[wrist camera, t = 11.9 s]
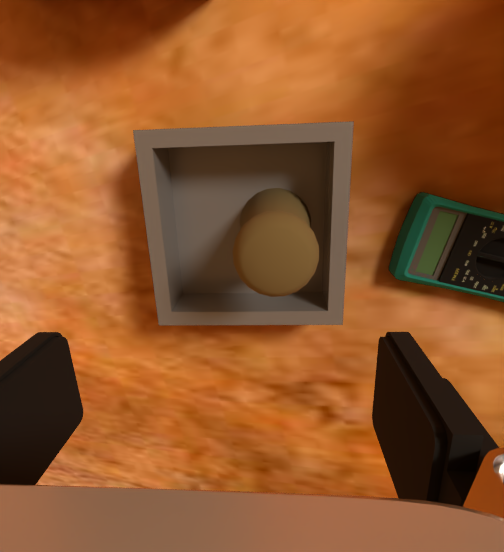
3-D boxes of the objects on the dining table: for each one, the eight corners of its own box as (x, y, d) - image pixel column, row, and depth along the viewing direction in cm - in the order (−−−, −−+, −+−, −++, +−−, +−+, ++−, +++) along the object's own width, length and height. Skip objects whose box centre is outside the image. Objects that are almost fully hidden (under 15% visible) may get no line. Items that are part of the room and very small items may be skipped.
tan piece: (303, 180, 29) (320, 196, 19) (317, 250, 31) (338, 301, 21) (232, 196, 30) (209, 222, 20) (248, 264, 32) (236, 320, 22)
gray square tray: (333, 300, 34) (342, 324, 29) (174, 301, 35) (158, 325, 30) (340, 126, 29) (353, 121, 24) (155, 133, 30) (133, 130, 25)
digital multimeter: (539, 306, 33) (564, 320, 30) (383, 269, 33) (393, 281, 30) (581, 229, 31) (611, 237, 28) (412, 189, 30) (426, 193, 28)
